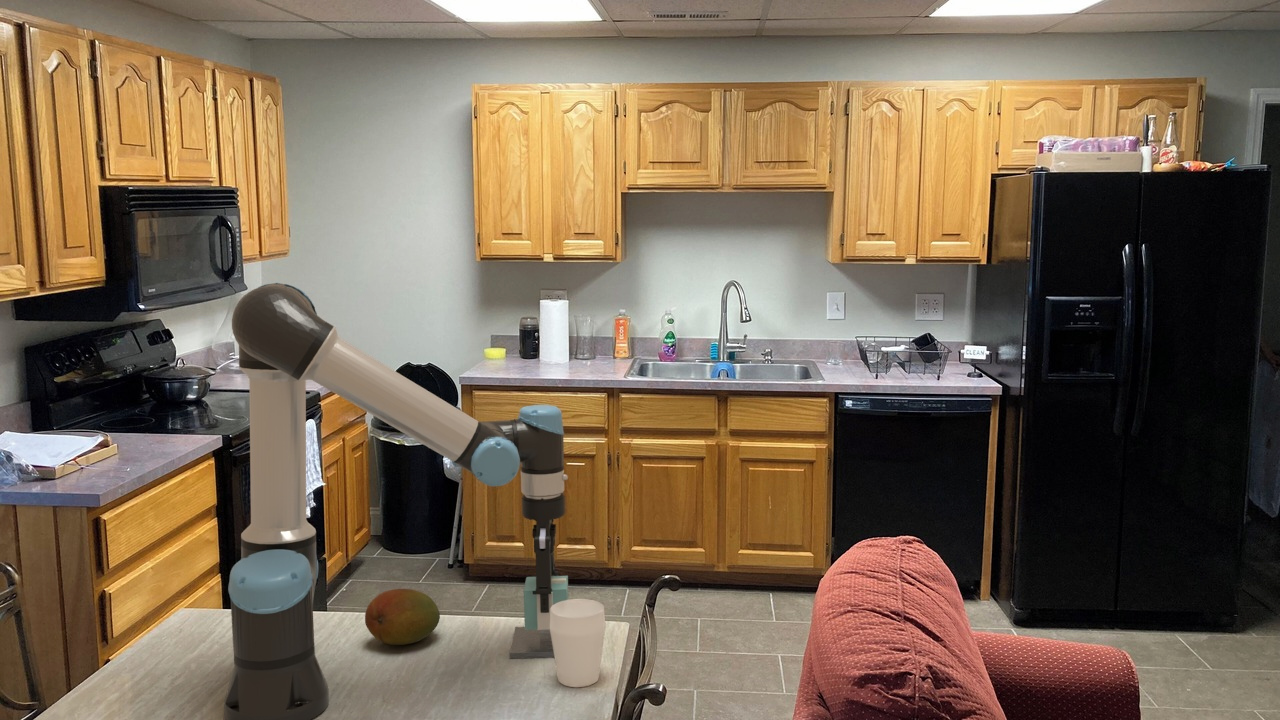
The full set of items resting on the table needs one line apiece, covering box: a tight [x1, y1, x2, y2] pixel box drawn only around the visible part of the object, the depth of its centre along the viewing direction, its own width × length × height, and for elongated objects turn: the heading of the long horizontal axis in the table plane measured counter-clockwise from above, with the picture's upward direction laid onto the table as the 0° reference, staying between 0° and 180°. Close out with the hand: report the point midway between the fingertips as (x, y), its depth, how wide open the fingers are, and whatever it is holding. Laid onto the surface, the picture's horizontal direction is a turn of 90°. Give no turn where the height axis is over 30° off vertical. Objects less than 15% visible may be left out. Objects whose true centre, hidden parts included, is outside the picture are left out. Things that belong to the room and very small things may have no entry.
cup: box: [550, 598, 606, 688], centre depth 164 cm, size 9×9×12 cm
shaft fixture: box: [509, 626, 555, 660], centre depth 179 cm, size 12×12×6 cm
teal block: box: [523, 575, 569, 630], centre depth 179 cm, size 7×7×8 cm
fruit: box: [364, 588, 441, 646], centre depth 181 cm, size 12×13×10 cm
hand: (546, 620), depth 179 cm, fingers closed on teal block, 7 cm apart
